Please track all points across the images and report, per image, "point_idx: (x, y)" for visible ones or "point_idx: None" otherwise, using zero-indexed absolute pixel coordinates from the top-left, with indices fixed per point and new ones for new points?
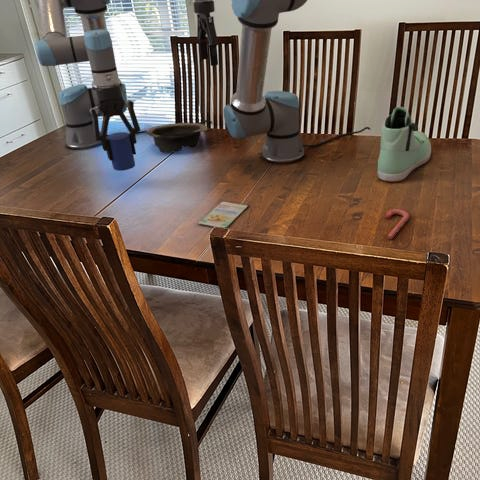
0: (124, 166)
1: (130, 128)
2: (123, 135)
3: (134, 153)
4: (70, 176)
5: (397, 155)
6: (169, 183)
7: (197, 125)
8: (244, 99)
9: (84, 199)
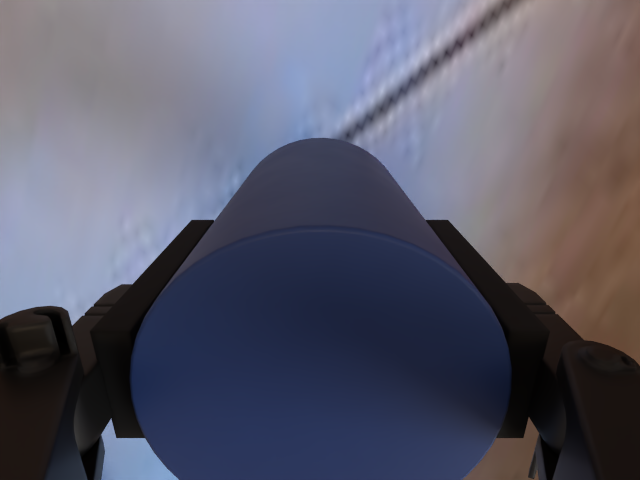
0: (342, 145)
1: (16, 438)
2: (234, 365)
3: (203, 222)
4: (498, 455)
5: None
6: (93, 59)
7: None
8: None
9: (574, 175)
